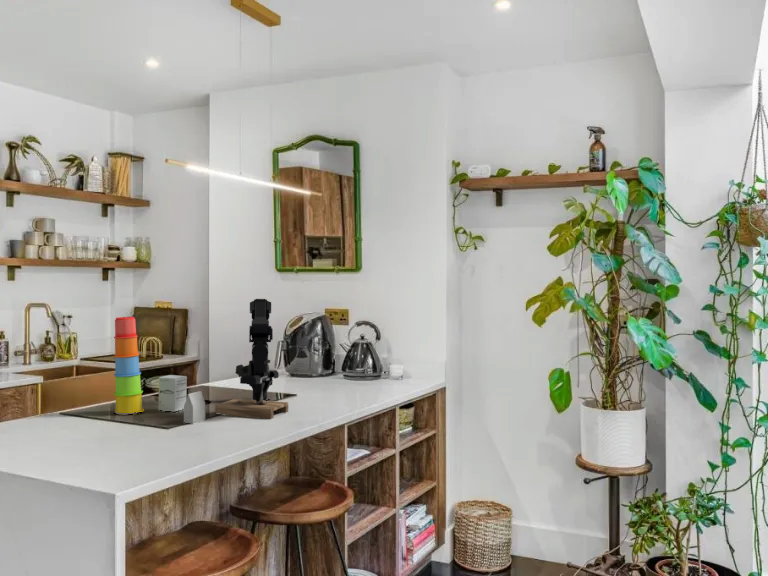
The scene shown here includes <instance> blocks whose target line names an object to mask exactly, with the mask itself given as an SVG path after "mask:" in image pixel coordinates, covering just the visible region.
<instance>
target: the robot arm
mask: <svg viewBox="0 0 768 576" xmlns="http://www.w3.org/2000/svg"><path fill="white" fill-rule="evenodd" d="M249 314H251V319H252V320H251V325H249V331H248V332H249V335H248V337H249V339H248V340H249V343H252V344H251V360H249V361H248V364H247V365H243V364H238V365H236V367H235V374H236V375H237V376H238V377H239V384H242V385H245V384H246V385H249V387H251V389H252V399H253V400H256V401H260V398H261V395H262V391H263V400H266V399H267V398H268V390H269V388H270V387H271V386H273V382H274V380H273V379H279V371H278V370H277V369H270V365H269V364H271V359H269V344H268V343H271V342H272V341H273V338H274V336H273V330H274V329H273V327H272V326H271V325H270V314H272V302H271V301H269V300H268V299H267V298H255V299H253V300H252V301H250V302H249Z"/></svg>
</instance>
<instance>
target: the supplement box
mask: <svg viewBox="0 0 768 576" xmlns="http://www.w3.org/2000/svg"><path fill="white" fill-rule="evenodd" d="M187 379H188V377H187V375H178V374H177V375H175V374H168V375H163V376H159V377H158V411H159V410H162V411H161V412H165V411H178V410H182V409H184V404H185V402H186V399H187V388H188V387H187V385H188V384H187V383H188V382H187Z"/></svg>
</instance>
